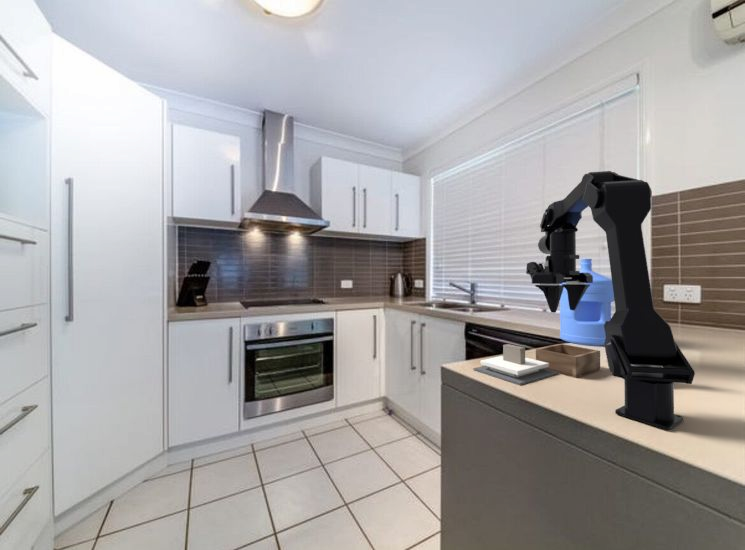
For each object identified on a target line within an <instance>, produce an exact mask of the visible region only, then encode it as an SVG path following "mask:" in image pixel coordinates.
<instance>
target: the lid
mask: <svg viewBox="0 0 745 550" xmlns="http://www.w3.org/2000/svg"><path fill="white" fill-rule="evenodd" d="M502 347H503V348H502V349H503V350H502V354H503V355H499V356H496V357H495V356H494V357H491V358H486V359H482V360H479V364H480V365H482V366H489V367H490V370H493V371H497V372H500V373H503V374H506V375H510V376H513V377H515V374H516V377H519V376H523V375H526V374H530V373H534V372H537V371H539V369H542V368H546V367H549V363H546V362H542V361H538V360H536V359H533V358H530V357H526V347H523V346H519V345H515V344H514V345H513V344H510V343H507V344H503V345H502Z"/></svg>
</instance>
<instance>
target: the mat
mask: <svg viewBox="0 0 745 550" xmlns="http://www.w3.org/2000/svg"><path fill="white" fill-rule="evenodd" d="M473 371H476V372H478V373H481V374H485V375H487V376H492V377H494V378H497V379H500V380H503V381H507V382H509V383H512V384H515V385H518V386H522V385H525V384H529V383H532V382H536V381H539V380H542V379H546V378H550V377H553V376H556V375H558V374H559V373H558V372H556V371H552V370H548V369H544V368H542V369H539V371H537V372H534V373H530V374H526V375H523V376H519V377H516V374H515V377H513V376H510V375H506V374H503V373H500V372H497V371H493V370H490V367H489V366H486V365H482V366H477V367H473Z"/></svg>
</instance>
